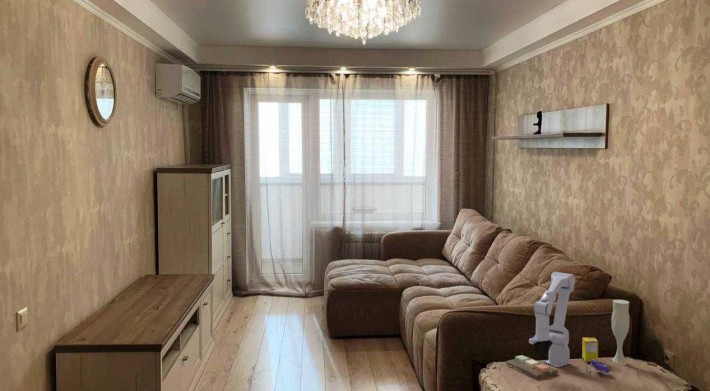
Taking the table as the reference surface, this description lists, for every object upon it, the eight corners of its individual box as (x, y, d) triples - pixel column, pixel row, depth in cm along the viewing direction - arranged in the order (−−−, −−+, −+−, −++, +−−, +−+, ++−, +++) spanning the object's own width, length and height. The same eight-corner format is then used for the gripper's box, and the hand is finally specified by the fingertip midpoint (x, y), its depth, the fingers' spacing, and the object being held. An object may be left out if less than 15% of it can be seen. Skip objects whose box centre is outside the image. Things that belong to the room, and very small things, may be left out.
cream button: (531, 364, 270) (531, 359, 269) (538, 367, 266) (538, 362, 265) (524, 366, 268) (524, 361, 267) (531, 369, 264) (531, 364, 264)
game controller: (616, 365, 262) (608, 367, 254) (609, 380, 263) (601, 383, 255) (595, 353, 268) (588, 355, 261) (589, 369, 269) (580, 370, 262)
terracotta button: (541, 369, 264) (541, 363, 264) (548, 372, 260) (549, 367, 260) (534, 370, 262) (534, 365, 262) (541, 374, 258) (541, 368, 258)
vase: (632, 365, 270) (634, 304, 268) (614, 365, 271) (616, 304, 268) (623, 359, 279) (625, 299, 277) (606, 359, 279) (608, 299, 277)
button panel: (526, 360, 279) (526, 356, 278) (557, 374, 261) (558, 370, 261) (506, 365, 273) (506, 361, 273) (536, 379, 255) (536, 375, 255)
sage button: (521, 360, 275) (522, 355, 275) (528, 363, 271) (528, 358, 271) (515, 361, 273) (515, 356, 273) (521, 364, 270) (521, 359, 269)
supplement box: (594, 359, 280) (594, 337, 279) (598, 363, 274) (598, 341, 273) (581, 358, 280) (582, 337, 280) (585, 363, 274) (585, 341, 274)
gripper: (547, 323, 266) (547, 351, 267) (524, 327, 260) (523, 356, 261) (559, 327, 260) (558, 356, 261) (535, 331, 253) (535, 361, 254)
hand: (542, 356), depth 260 cm, fingers open, 3 cm apart
